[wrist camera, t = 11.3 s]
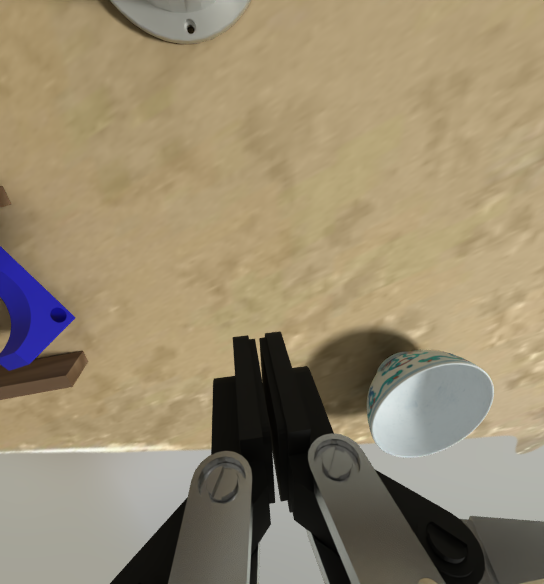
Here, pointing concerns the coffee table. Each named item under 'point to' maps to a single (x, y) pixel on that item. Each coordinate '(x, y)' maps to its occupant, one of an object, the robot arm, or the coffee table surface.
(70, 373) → the dock bay
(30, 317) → the cable clip
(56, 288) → the coffee table surface
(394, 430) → the chinaware
